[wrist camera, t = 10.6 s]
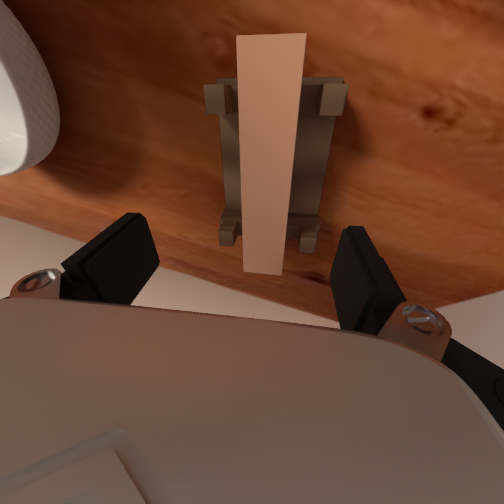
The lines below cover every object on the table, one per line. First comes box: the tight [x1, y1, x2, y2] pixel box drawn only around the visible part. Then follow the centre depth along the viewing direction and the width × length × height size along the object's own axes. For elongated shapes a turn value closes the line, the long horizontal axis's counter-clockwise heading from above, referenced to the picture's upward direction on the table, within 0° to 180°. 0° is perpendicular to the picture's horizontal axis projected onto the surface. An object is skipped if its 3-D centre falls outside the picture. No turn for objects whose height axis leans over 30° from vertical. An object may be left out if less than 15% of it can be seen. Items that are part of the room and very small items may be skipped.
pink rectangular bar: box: [236, 33, 306, 275], centre depth 19 cm, size 18×4×4 cm, turn 0°
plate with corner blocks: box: [203, 77, 349, 253], centre depth 22 cm, size 15×11×6 cm
